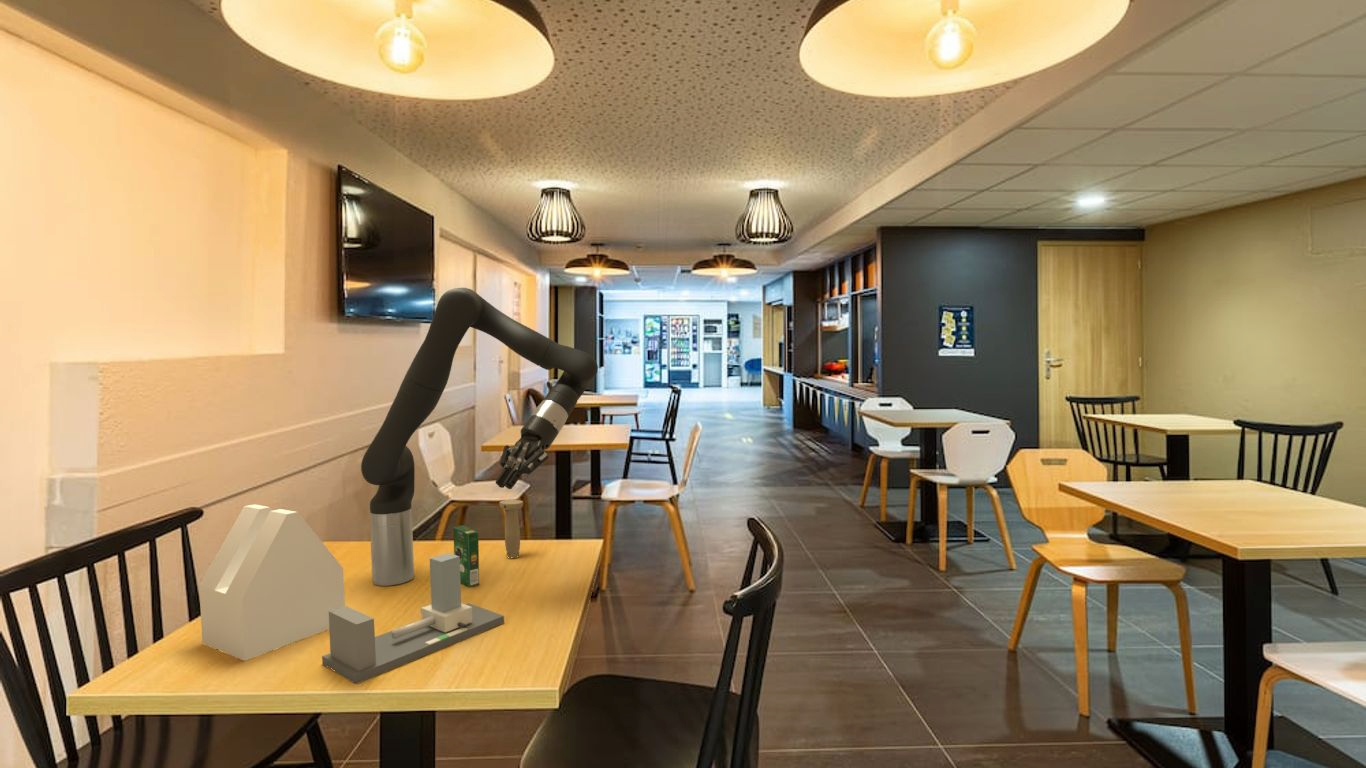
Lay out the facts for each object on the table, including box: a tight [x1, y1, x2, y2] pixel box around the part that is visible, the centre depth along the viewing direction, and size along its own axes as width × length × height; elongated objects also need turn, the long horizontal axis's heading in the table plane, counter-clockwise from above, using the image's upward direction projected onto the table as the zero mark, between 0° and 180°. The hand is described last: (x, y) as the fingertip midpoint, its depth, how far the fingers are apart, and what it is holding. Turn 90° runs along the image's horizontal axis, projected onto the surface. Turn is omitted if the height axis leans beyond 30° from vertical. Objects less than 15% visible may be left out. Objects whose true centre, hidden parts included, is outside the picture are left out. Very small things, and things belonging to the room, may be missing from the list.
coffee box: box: [452, 525, 480, 588], centre depth 157 cm, size 8×3×13 cm, turn 44°
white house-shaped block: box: [198, 503, 346, 662], centre depth 130 cm, size 19×15×25 cm
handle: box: [499, 499, 524, 559], centre depth 177 cm, size 5×6×15 cm
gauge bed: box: [321, 602, 505, 685], centre depth 125 cm, size 12×30×10 cm, turn 143°
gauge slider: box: [391, 552, 472, 639], centre depth 126 cm, size 10×14×13 cm
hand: (503, 486), depth 142 cm, fingers closed
